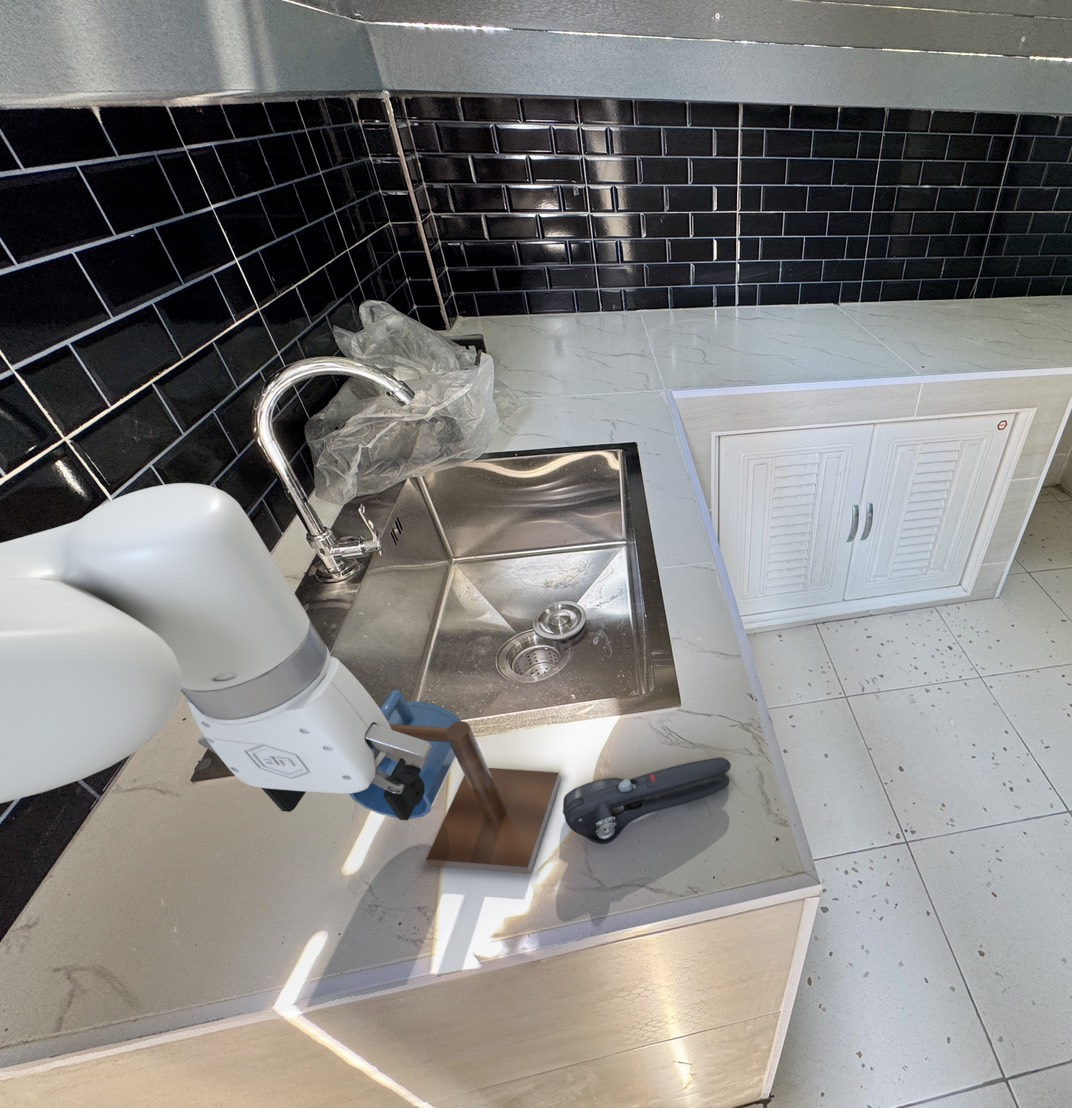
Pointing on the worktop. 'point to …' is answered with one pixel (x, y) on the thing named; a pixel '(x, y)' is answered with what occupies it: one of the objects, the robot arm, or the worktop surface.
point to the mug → (435, 765)
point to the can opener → (639, 797)
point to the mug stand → (489, 808)
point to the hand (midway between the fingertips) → (356, 799)
